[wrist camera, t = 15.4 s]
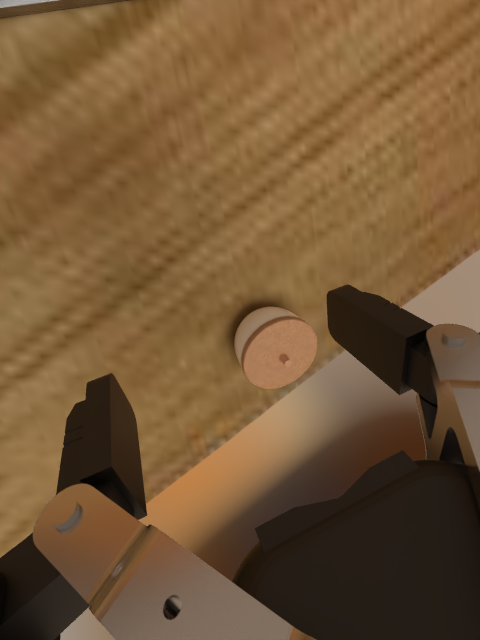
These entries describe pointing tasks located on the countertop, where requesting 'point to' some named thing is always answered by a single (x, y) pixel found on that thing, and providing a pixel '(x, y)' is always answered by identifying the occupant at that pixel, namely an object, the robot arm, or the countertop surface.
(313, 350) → the lidded jar
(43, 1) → the plate with square holes
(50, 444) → the countertop surface
